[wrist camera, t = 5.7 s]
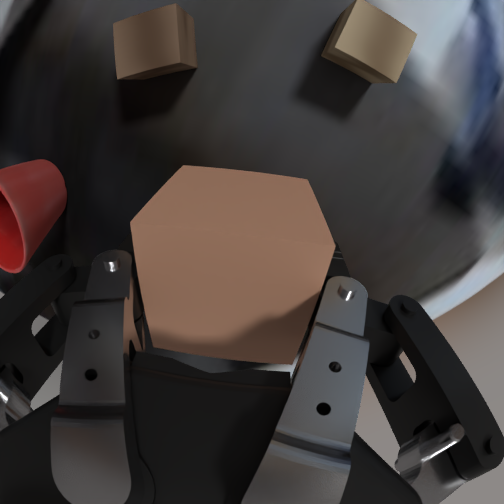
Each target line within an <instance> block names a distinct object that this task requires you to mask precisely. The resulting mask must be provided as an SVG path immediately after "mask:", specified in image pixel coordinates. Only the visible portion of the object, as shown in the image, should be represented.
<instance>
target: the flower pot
mask: <svg viewBox="0 0 504 504" xmlns="http://www.w3.org/2000/svg"><path fill="white" fill-rule="evenodd" d="M66 202H67V190H66V187H65V182H64V179H63V176H62V174H61V173H60V171H59V170H58V168H57V167H56V166H55V165H54V164H53V163H51V162H50V161H47V160H44V159H39V160H34V161H29V162H25V163H21V164H17V165H13V166H10V167H6V168H3V169H0V268H1V269H3V270H5V271H7V272H10V273H18V272H20V271H22V270H23V269H24V267H25V266H26V265H27V263H28V262H29V260H30V259H31V257H32V256H33V254H34V253H35V251H36V250H37V248H38V246H39V245H40V244H41V242H42V241H43V239H44V238H45V236H46V235H47V234H48V232H49V231H50V229H51V228H52V226H53V225H54V223H55V222H56V221H57V219H58V218H59V217H60V215H61V214H62V212H63V211H64V209H65V206H66Z"/></svg>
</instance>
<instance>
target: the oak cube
mask: <svg viewBox="0 0 504 504" xmlns="http://www.w3.org/2000/svg"><path fill="white" fill-rule="evenodd" d="M416 36H417V34H416V33H415V32H413V31H412V30H411V29H409V28H408V27H406V26H405V25H403V24H402V23H401V22H399V21H398V20H396V19H394V18H393V17H391V16H390V15H388V14H387V13H385V12H383V11H382V10H380V9H378V8H377V7H375V6H373V5H371V4H370V3H368V2H366V1H364V0H355V1H354V2H353V3H352V4H351V5H350V6H349V7H347V8H346V9H345V10H344V11H343V12H342V13H341V15H340V17H339V19H338V21H337V23H336V25H335V27H334V29H333V31H332V33H331V35H330V38H329V40H328V42H327V44H326V46H325V48H324V50H323V52H322V55H321V57H324V58H326V59H328V60H330V61H332V62H334V63H336V64H338V65H340V66H342V67H344V68H346V69H348V70H349V71H351V72H353V73H355V74H357V75H359V76H360V77H362V78H364V79H366V80H367V81H369V82H371V83H397V81H398V78H399V76H400V74H401V72H402V69H403V67H404V65H405V62H406V60H407V58H408V55H409V53H410V51H411V48H412V46H413V43H414V41H415V38H416Z"/></svg>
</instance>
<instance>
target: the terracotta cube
mask: <svg viewBox="0 0 504 504" xmlns="http://www.w3.org/2000/svg"><path fill="white" fill-rule="evenodd" d="M130 224H131V232H132V240H133V247H134V254H135V261H136V267H137V273H138V279H139V284H140V289H141V295H142V300H143V304H144V309H145V314H146V318H147V323H148V327H149V331H150V335H151V339H152V343H153V347H156V348H161V349H166V350H172V351H177V352H183V353H189V354H195V355H202V356H209V357H216V358H224V359H232V360H241V361H251V362H262V363H274V364H290V365H292V364H293V361H294V359H295V357H296V354H297V352H298V349H299V347H300V344H301V342H302V339H303V337H304V334H305V332H306V329H307V327H308V324H309V321H310V319H311V316H312V314H313V311H314V308H315V305H316V303H317V300H318V297H319V294H320V292H321V289H322V286H323V283H324V280H325V277H326V274H327V271H328V268H329V265H330V262H331V259H332V256H333V253H334V250H335V247H336V246H335V243H334V241H333V238H332V236H331V233H330V231H329V228H328V226H327V224H326V221H325V219H324V216H323V214H322V212H321V209H320V207H319V205H318V202H317V200H316V198H315V195H314V193H313V191H312V189H311V186H310V184H309V182H308V180H307V179H301V178H294V177H287V176H281V175H273V174H266V173H258V172H250V171H241V170H231V169H221V168H210V167H198V166H184V165H183V166H182V167H181V168H180V169H179V170H178V171H177V172H176V173H175V174H174V175H173V176H172V177H171V178H170V179H169V180H168V181H167V182H166V184H165V185H164V186H163V187H162V188H161V189H160V190H159V191H158V192H157V193H156V194H155V195H154V196H153V197H152V198H151V200H150V201H149V202H148V203H147V204H146V205H145V206H144V207H143V208H142V209H141V211H140V212H139V213H138V214H137V215H136V216H135V217H134V219H133V220H132V221H131V222H130Z"/></svg>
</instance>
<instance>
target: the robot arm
mask: <svg viewBox="0 0 504 504" xmlns="http://www.w3.org/2000/svg"><path fill="white" fill-rule="evenodd" d="M333 241H334V240H333ZM334 243H335V246H336V247H335V250H334V253H333V256H332V259H331V262H330V265H329V268H328V271H327V274H326V277H325V280H324V283H323V286H322V289H321V292H320V294H319V297H318V300H317V303H316V305H315V308H314V311H313V314H312V316H311V319H310V321H309V324H308V328H309V332H308V335H307V337H306V340H305V343H304V345H303V348H302V351H301V353H300V356H299V359H298V362H297V364H296V367H295V369H294V372H293V374H292V377H291V379H290V372H282V371H266V370H254V369H250V370H242V371H232V372H222V373H208V372H204V371H202V370H199V369H197V368H194V367H192V366H189V365H187V364H184V363H182V362H179V361H177V360H175V359H172V358H168V357H162V356H157V355H152V354H148V353H146V350H145V334H144V317H143V310H144V304H143V300H142V295H141V289H140V284H139V279H138V273H137V267H136V261H135V254H134V247H133V240H132V232H130V234H129V235H128V236H127V237H126V238H125V240H124V241H123V242H122V244H121V245H120V246H119V248H118V249H117V250H110V251H106V252H104V253H102V254H100V255H98V256H97V257H96V258H95V259H94V261H93V263H92V266H81V267H74V265H73V261H72V259H71V257H70V256H68V255H65V254H58V255H54V256H51V257H49V258H47V259H46V260H44V261H43V262H42V263H41V264H39V265H38V266H37V267H36V268H35V269H33V270H32V271H31V272H30V273H29V274H27V275H26V276H25V277H24V278H23V279H22V280H21V281H19V282H18V283H17V284H16V285H15V286H14V287H13V288H12V289H10V290H9V291H8V292H7V293H6V294H5V295H4V296H3V297H2V298H1V299H0V504H439V503H440V502H441V501H443V500H444V499H445V498H446V497H448V496H449V495H450V494H452V493H453V492H454V491H455V490H456V489H458V488H459V487H460V486H461V485H462V484H463V483H465V482H468V481H470V480H472V479H474V478H476V477H478V476H480V475H482V474H484V473H486V472H488V471H490V470H492V469H494V468H496V467H497V466H498V465H499V464H500V463H501V462H502V459H503V457H504V437H503V435H502V432H501V430H500V428H499V426H498V424H497V422H496V420H495V418H494V417H493V415H492V413H491V411H490V409H489V407H488V406H487V404H486V402H485V400H484V398H483V397H482V395H481V393H480V391H479V390H478V388H477V386H476V385H475V383H474V382H473V380H472V378H471V377H470V375H469V373H468V372H467V370H466V369H465V367H464V365H463V364H462V362H461V361H460V359H459V358H458V356H457V355H456V353H455V352H454V351H453V349H452V347H451V346H450V344H449V343H448V342H447V340H446V339H445V337H444V336H443V335H442V333H441V332H440V331H439V329H438V328H437V326H436V325H435V324H434V322H433V321H432V319H431V318H430V317H429V315H428V314H427V313H426V312H425V310H424V309H423V308H422V306H421V305H420V304H419V303H418V302H417V301H415V300H414V299H412V298H410V297H408V296H404V295H397V296H394V297H393V298H392V299H391V300H390V302H389V304H384V303H381V302H378V301H375V300H372V299H370V298H368V297H367V291H366V289H365V288H364V286H363V285H362V284H360V283H359V282H358V281H356V280H354V279H352V278H351V277H350V274H349V271H348V269H347V266H346V264H345V261H344V259H343V256H342V253H341V251H340V248H339V246H338V244H337V243H336V242H335V241H334ZM50 303H51V305H52V307H53V309H54V311H55V313H56V314H55V315H54V316H53V317H52V318H51V319H50V320H49V321H48V322H47V324H46V325H45V326H44V327H43V328H42V329H41V330H40V331H39V332H38V333H37V334H36V335H35V336H34V335H33V334H32V330H31V327H32V323H33V321H34V320H35V318H36V317H37V316H38V315H39V314H40V313H41V312H42V311H43V310H44V309H45V308H46V307H47V306H48V305H49V304H50ZM403 351H404V352H405V354H406V355H407V357H408V359H409V360H410V362H411V364H412V365H413V367H414V369H415V371H416V380H415V383H414V382H413V381H412V379H411V377H410V375H409V374H408V372H407V370H406V368H405V367H404V365H403V363H402V361H401V360H400V358H399V356H400V354H401V353H402V352H403ZM62 360H63V364H62V373H61V383H60V394H59V395H58V396H56V397H55V398H53V399H51V400H50V401H48V402H47V403H45V404H43V405H42V406H40V407H39V408H37V409H35V410H34V411H33V409H32V408H31V407H30V405H31V400H32V399H33V397H34V396H35V395H36V393H37V392H38V391H39V389H40V388H41V387H42V385H43V384H44V383H45V381H46V380H47V379H48V378H49V376H50V375H51V374H52V372H53V371H54V370H55V369H56V368H57V366H58V365H59V364H60V362H61V361H62ZM365 374H366V376H367V378H368V380H369V382H370V384H371V386H372V388H373V390H374V392H375V394H376V397H377V398H378V401H379V403H380V405H381V407H382V409H383V411H384V413H385V415H386V417H387V420H388V422H389V424H390V426H391V428H392V431H393V433H394V435H395V437H396V439H397V441H398V444H399V446H400V450H399V453H398V459H397V460H396V461H395V468H396V470H397V471H399V472H400V475H399V474H398V473H397V472H396V471H395V470H393V468H391V467H390V466H389V465H388V464H387V463H386V462H385V461H384V460H383V459H382V458H381V457H380V456H379V455H378V454H377V453H376V452H375V451H374V450H373V449H372V448H371V447H370V446H368V444H367V443H366V442H365V441H364V440H363V439H362V438H361V437H359V435H358V434H357V433H356V432H355V431H354V430H355V427H356V422H357V418H358V413H359V408H360V403H361V397H362V391H363V386H364V380H365Z"/></svg>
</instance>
